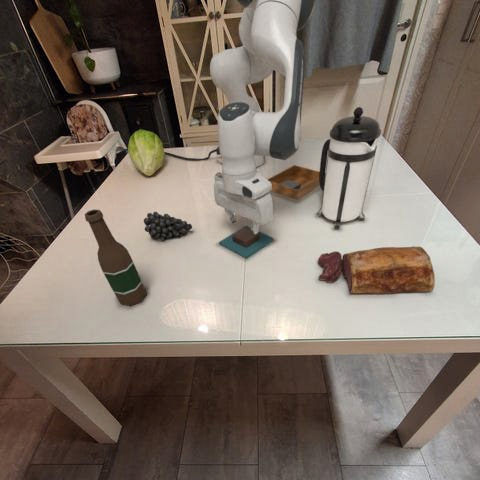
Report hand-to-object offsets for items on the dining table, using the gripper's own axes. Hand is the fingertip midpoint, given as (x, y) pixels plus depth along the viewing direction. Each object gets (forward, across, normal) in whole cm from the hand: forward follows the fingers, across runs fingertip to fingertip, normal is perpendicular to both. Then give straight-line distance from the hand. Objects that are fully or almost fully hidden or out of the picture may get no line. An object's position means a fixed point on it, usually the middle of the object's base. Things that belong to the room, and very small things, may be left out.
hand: (243, 227), depth 88 cm
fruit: (+6, -21, -13) cm, 26 cm away
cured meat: (+5, +36, +9) cm, 37 cm away
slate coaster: (+5, -11, +34) cm, 36 cm away
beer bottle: (+5, -5, -37) cm, 38 cm away
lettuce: (+6, -78, +15) cm, 80 cm away
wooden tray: (+5, -11, +38) cm, 40 cm away
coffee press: (+5, +14, +29) cm, 32 cm away
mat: (+5, +1, 0) cm, 5 cm away
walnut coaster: (+4, +1, 0) cm, 4 cm away
